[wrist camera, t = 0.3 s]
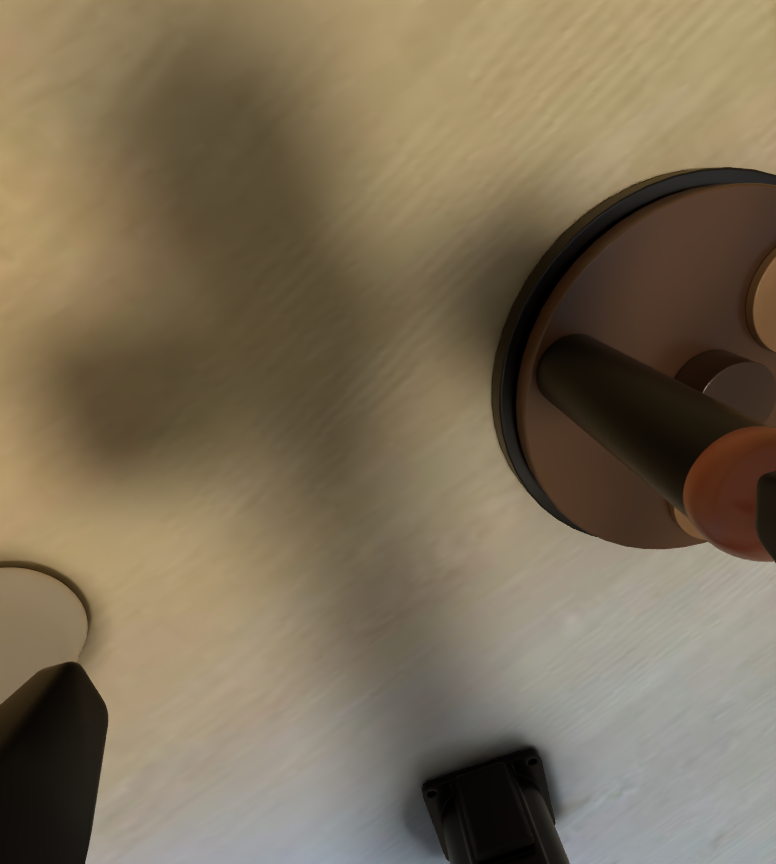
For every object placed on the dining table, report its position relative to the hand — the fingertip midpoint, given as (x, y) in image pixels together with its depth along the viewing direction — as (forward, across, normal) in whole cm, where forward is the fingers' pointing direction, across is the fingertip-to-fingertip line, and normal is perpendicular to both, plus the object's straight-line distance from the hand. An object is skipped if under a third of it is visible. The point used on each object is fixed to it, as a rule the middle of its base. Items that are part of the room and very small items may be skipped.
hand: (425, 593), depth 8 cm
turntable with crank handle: (+14, -12, +5) cm, 19 cm away
